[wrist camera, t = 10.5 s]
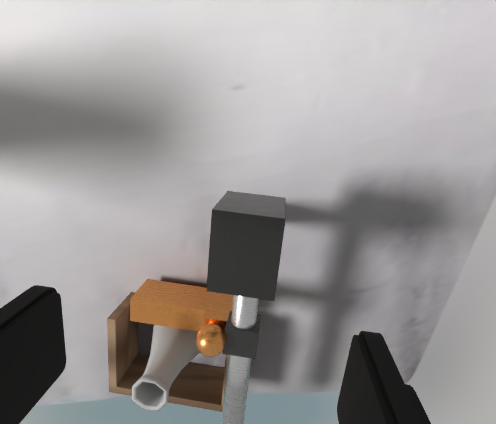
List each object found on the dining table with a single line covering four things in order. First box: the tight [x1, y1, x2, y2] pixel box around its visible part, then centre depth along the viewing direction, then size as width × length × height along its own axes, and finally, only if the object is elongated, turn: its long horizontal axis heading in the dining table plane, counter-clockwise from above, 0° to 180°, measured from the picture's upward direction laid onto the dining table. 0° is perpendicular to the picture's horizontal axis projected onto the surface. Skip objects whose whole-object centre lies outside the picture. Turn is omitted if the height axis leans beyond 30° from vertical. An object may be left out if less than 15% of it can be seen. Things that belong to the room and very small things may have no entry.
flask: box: [132, 325, 200, 411], centre depth 32 cm, size 7×7×10 cm
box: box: [107, 293, 228, 412], centre depth 34 cm, size 9×13×5 cm
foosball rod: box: [130, 191, 285, 424], centre depth 27 cm, size 23×13×13 cm, turn 174°
